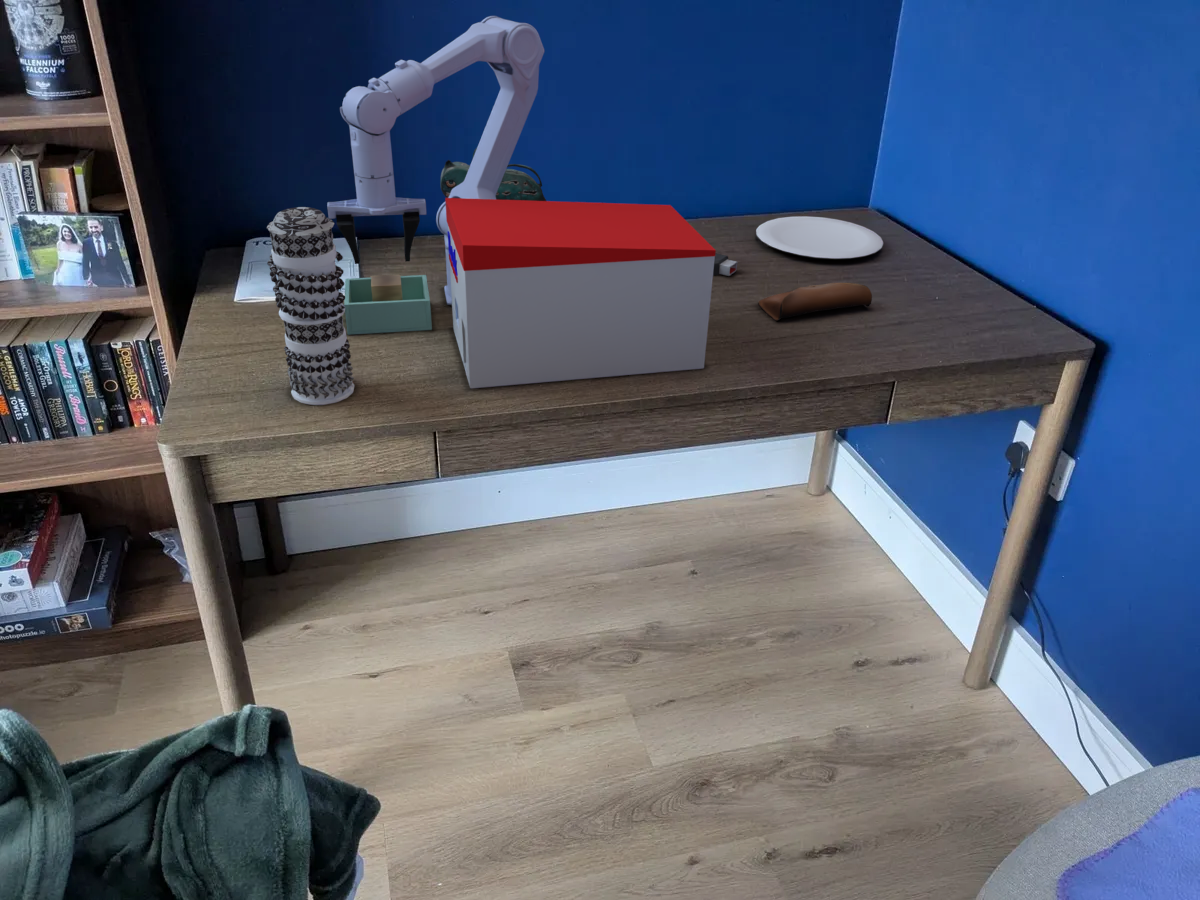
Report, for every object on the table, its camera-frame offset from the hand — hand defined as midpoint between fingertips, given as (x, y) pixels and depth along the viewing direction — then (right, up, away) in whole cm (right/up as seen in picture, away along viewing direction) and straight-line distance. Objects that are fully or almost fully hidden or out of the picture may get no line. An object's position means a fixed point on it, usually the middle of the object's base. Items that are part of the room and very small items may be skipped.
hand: (382, 260), depth 149 cm
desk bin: (0, -9, +4) cm, 9 cm away
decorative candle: (-4, -22, -17) cm, 28 cm away
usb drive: (+53, +4, +28) cm, 60 cm away
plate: (+78, +11, +42) cm, 89 cm away
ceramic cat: (+14, +8, +32) cm, 36 cm away
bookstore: (+30, -14, -3) cm, 33 cm away
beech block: (0, -8, +4) cm, 9 cm away
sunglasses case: (+70, -6, +13) cm, 72 cm away
